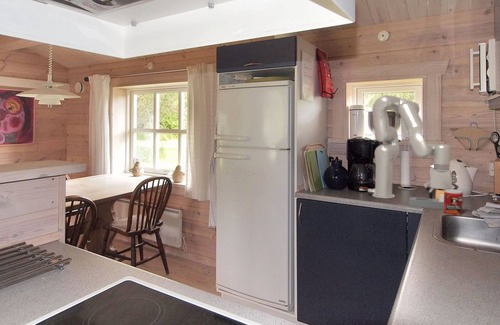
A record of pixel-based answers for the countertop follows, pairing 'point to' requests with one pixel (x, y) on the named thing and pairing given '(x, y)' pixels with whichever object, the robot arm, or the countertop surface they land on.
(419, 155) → the robot arm
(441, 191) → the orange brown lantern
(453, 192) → the canned food
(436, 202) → the power strip
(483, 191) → the countertop surface
